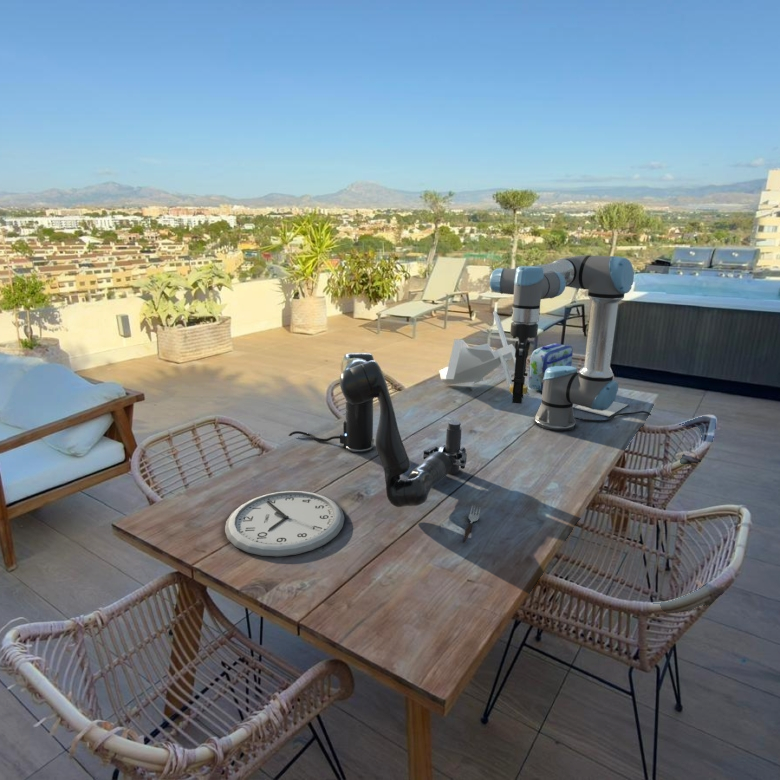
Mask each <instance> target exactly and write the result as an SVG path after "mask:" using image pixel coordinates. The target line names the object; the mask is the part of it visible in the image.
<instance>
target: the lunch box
mask: <svg viewBox="0 0 780 780" xmlns="http://www.w3.org/2000/svg"><path fill="white" fill-rule="evenodd" d="M573 356H574V355H573V347H572V346H571V345H566V344H560V343H551V344H548V345H544V346H541V347H538V348H536V349H534V350H533V351H532V353H531V355H530V359H529V370H528V371H529V372H528V389H531V390H536V391H541V392H542V391H543V381H544V380H543V378H544V374H545V371H546V369H548V368H550V367H554V366H572V365H573V363H572V362H573Z"/></svg>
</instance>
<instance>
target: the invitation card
mask: <svg viewBox="0 0 780 780" xmlns="http://www.w3.org/2000/svg"><path fill="white" fill-rule="evenodd" d="M628 406H629V404H627V403H623V402H618V401H615V400H614V401H613V403H612V404H611V406H610V407H609V408H608V409H606V410H603V411H601V410H596V409H591V408H588V407H584V406H580V405H575V406H574V407H573V409H575V410H581V411H584V412H587V413H593V414H596V415H600V416H604V417H608V418H610V417H612V416H613V415H615V414H617V412H619V411H621V410H623V409H624V408H626V407H628Z"/></svg>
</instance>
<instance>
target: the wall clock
mask: <svg viewBox="0 0 780 780" xmlns="http://www.w3.org/2000/svg"><path fill="white" fill-rule="evenodd" d="M344 515H345V514H344V511H343V509H342V508H341V507H340V505H338V503H336V502H335V501H334V500H333V499H332V500H331V499H330V498H329V497H327V496H324V495H322V494H318V493H316V492H311V491H310V492H309V491H305V490H304V491H303V490H284V491H276V492H272V493H267V494H264V495H260V496H257V497H255V498H252V499H250V500H248V501H246V502H245V503H243V504H241V505H240V506H238V508H236V509H235V510H233V511H232V512H231V513H230V515H229V517H228V518H227V520H226V521H225V527H224V532H225V536H226V538H227V540H228V541H229V542H230V544H231V545H233V546H234V547H235V548H237V549H240V550H241V551H244V552H245V553H248V554H252V555H256V556H262V557H287V556H294V555H296V556H297V555H299V554H304V553H307V552H311V551H313V550H316V549H318V548H320V547H322V546H324V545H327V544H328V543H329V542H331V541H332V540H333V539H335V538H336V537H337V536H338V534H339V533H340V532H341V530H342V529H343V527H344V522H345V516H344Z"/></svg>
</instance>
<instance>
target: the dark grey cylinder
mask: <svg viewBox="0 0 780 780" xmlns="http://www.w3.org/2000/svg"><path fill="white" fill-rule="evenodd" d="M447 425H448V426H446V434H445V435H446V437H445V445H446V452H445V453H447V454H448V453H452V452H458V451H459V450H460V449H461V443H462V426H461V425H462V423H461V422H460V421H458V420H450V421H449V420H448V424H447ZM459 472H460V466H458V465H456V466H455V467H452V468H451V470H450V471H449V473H448V474H450V475H456V474H458V473H459Z"/></svg>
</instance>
